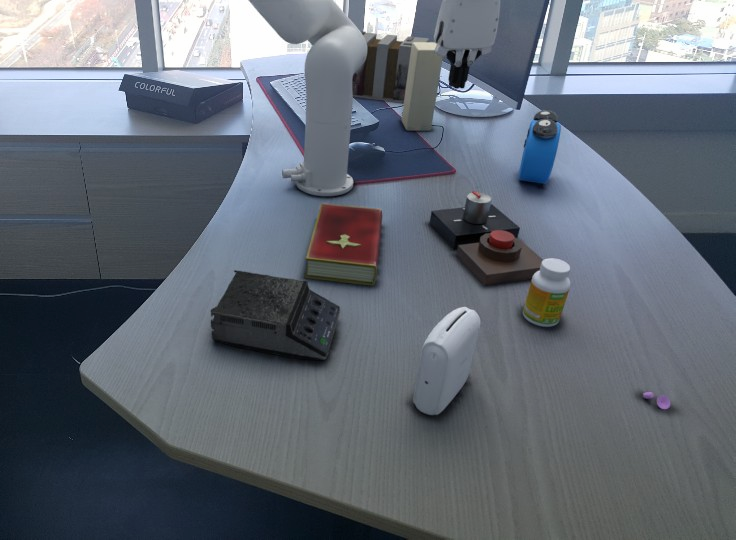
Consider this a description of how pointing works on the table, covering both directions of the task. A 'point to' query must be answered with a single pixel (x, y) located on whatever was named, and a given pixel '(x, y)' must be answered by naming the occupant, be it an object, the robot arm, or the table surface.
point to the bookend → (384, 68)
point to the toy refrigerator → (421, 87)
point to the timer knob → (477, 208)
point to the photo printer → (446, 360)
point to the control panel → (468, 226)
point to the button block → (499, 261)
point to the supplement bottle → (547, 293)
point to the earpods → (659, 400)
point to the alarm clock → (540, 148)
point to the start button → (501, 239)
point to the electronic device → (275, 317)
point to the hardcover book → (345, 244)
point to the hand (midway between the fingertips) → (456, 86)
